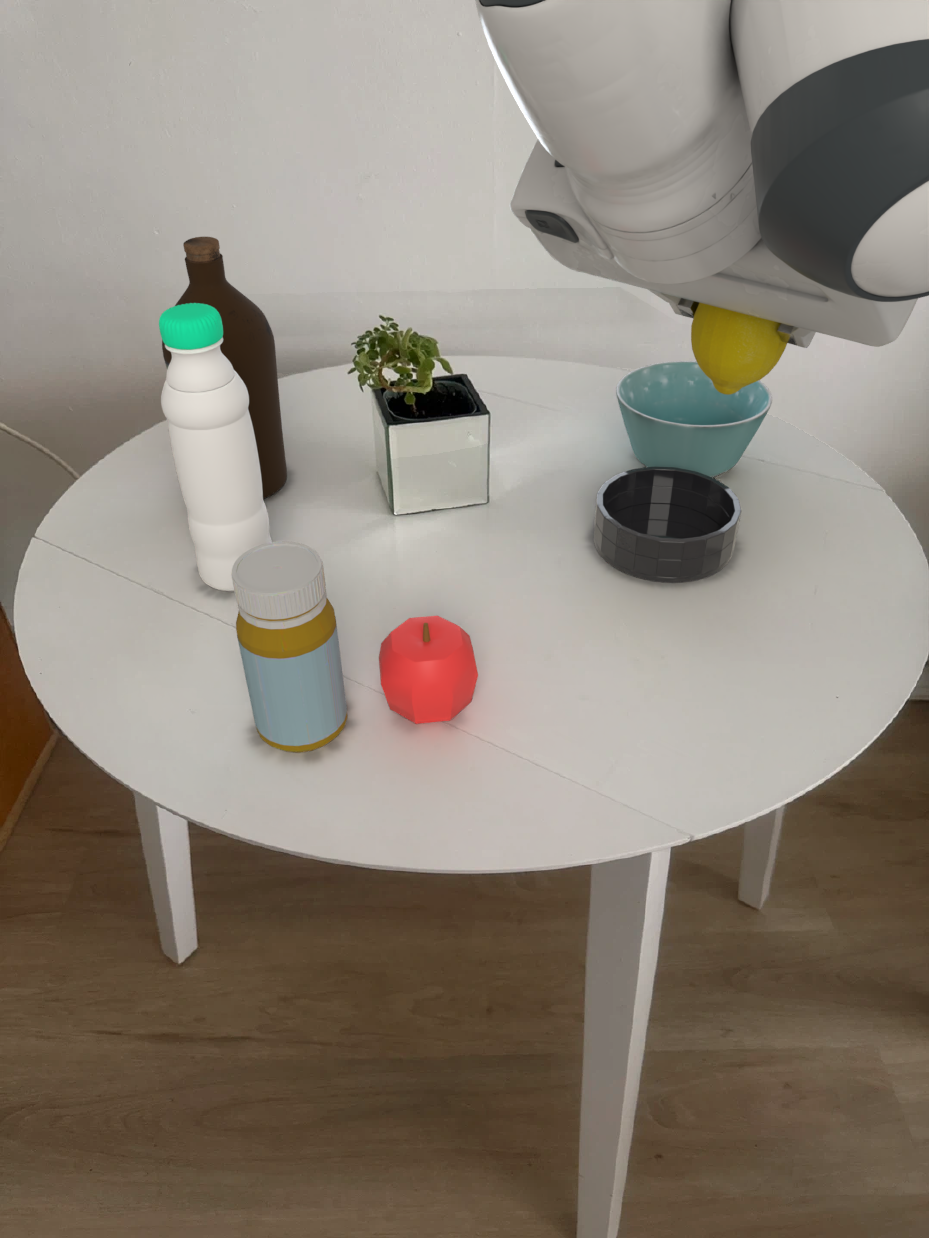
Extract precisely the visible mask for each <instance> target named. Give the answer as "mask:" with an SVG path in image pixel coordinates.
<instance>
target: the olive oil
mask: <svg viewBox="0 0 929 1238" xmlns="http://www.w3.org/2000/svg"><path fill="white" fill-rule="evenodd" d="M220 249H221V245H220V241H219V240H218V239H217V237H212V236H195V237H191V238H189V239H187V240H185V241H184V242H183V250H184V252H185V257H184V263H185V267H186V272H187V276H188V281H189V283H188V286H187V288H186V289H185V291H184V292H183V293H182V295H181V296H180V298H179V299H178V300H177V301H176V304H175V305H174V306H177V305H181V304H186V303H187V304H189V303H200V304H207V305H210V306H212V307H214V308H215V309H216V310H217V311H218V312H219V314H220V316H221V320H222V325H223V342H222V344H221V345H220V350H221V352H222V354H223V355H224V356H225V357H226V358H227V359H228V360H229V361H230V363H231V364H232V366H233V369H234V370H235V371H236V372H237V374H238V375H239V376H240V378H241V379H242V381H243V382H244V384H245V386H246V388H247V391H248V395H249V406H248V410H249V414H250V417H251V421H252V425H253V430H254V435H255V440H256V445H257V451H258V457H259V464H260V471H261V479H262V490H263V500H265V499H266V498H269V497H270V496H273V495H274V494H276V493H277V492H278V491H280V490H281V489H282V488H283V487H284V485H285V484H286V482H287V478H288V471H287V462H286V452H285V451H286V450H285V443H284V442H285V441H284V433H283V423H282V411H281V402H280V400H281V399H280V389H279V379H278V366H277V352H276V341H275V336H274V333H273V330H272V327H271V324H270V323H269V320H268V318H267V317H266V315H265V313H264V312H263V310H261V308H260V307H259V306H258V305H257V304H256V303H255V302H254V301H252V300H251V299H250V298H248V297H247V296H246V295H244V293H242V292H240V290H238V289H237V288H236V287H235V286H234V285H232V283H230V282H229V281H228V280H227V278H226V272H225V264H224V256H223V254H222V253H221V252H220ZM161 347H162V348H161V350H162V356H163V360H164V364H165V369H166V370H167V369H168V366H169V364H170V362H171V359H172V354H171V352H170V351H169V350H167V349H166V348H165V344H164V342H163V340H162V339H161Z"/></svg>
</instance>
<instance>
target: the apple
mask: <svg viewBox="0 0 929 1238" xmlns="http://www.w3.org/2000/svg"><path fill="white" fill-rule="evenodd" d="M378 665H379V677H380V678H379V679H380V685H381V689H382V691H383V694H384V696H385V700H386V702H387V705H388V708H389V710H390V711H392V712H393V713H396V714H398V715H400V716H401V717H403V718H405V719H407V720H408V721H410V722H412V723H413V724H416V725H418V724H429V723H430V724H431V723H441V722H449V721H452V720H453V719H454V718H455V717H457V715H458V714H460V713H461V712H462V711H463V710H464V709H465V708H466V707H467V706H468V705H470V704H471V703H472V701H473V697H474V694H475V689H476V686H477V682H478V679H479V672H478V668H477V662H476V657H475V652H474V648H473V643H472V639H471V636H470V634H468V632H466V631H465V630H464V629H463V628H462V627H461V626H460V625H458V624H456V623H454V622H452V621H449V620H448V619H446V618H444V617H442V616H439V615H427V616H426V615H425V616H415V617H408V618H407V619H406V620H404V622H402V623H401V624H400V625H398V626H397V627H396V628H394V629H393V630H392V631H390V633H389V634H388V635H387V636H386V637H385V638H384V639H383V641H382V642H381V643H380V648H379V654H378Z"/></svg>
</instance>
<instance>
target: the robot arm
mask: <svg viewBox="0 0 929 1238" xmlns="http://www.w3.org/2000/svg"><path fill="white" fill-rule="evenodd" d="M474 3H475V8H476V10H477V16H478V19H479V23H480V25H481V29H482V31H483V35H484V37H485V40H486V42H487V44H488V47H489V49H490V52H491V54H492V56H493V58H494V61H495V63H496V64H497V68H498V69H499V71H500V73H501V75H502V77H503V80H504V81H505V83H506V85H507V87H508V89H509V91H510V93H511V95H512V96H513V98H514V100H515V102H516V105H518V107H519V109H520V111H521V113H522V114H523V116H524V119H526V121H527V123H528V125H529V126H530V128H531V130H532V131H533V133H534V134H535V136H536V138H537V139H536V141H535V143H534V145H533V147H532V149H531V151H530V153H529V156H528V158H527V159H526V162H525V164H524V166H523V169H522V171H521V173H520V176H519V178H518V181H517V183H516V186H515V188H514V191H513V194H512V196H511V199H510V202H509V208H510V209H509V210H510V211H511V213H512V214H513V215H514V216H515V218H516V219H517V220H518V221H519V222H520V223H521V224H522V226H524V227H526V228H529V230H530V232H531V233H532V235H533V236H534V238H535V239H536V240H537V241H538V243H539V244H540V245H541V246H542V248H543V249H544V250H545V252H546V253H547V254H548V255H549V256H550V257H551V258H552V260H554V261H556V262H557V263H558V264H560V265H561V266H563V267H566V268H567V269H569V270H571V271H573V272H576V273H581V274H584V275H585V274H586V275H590V276H593V277H598V278H602V279H605V280H609V281H613V282H617V283H620V284H625V285H629V286H632V287H637V288H641V289H644V290H647V291H649V292H650V293H652V294H654V296H657V297H658V298H660V299H661V300H663V301H664V302H666V303H668V304H669V306H670V307H671V309H672V311H673V313H674V314H675V315H678V316H682V317H685V318H689V319H693V318H694V314H695V312H696V310H697V307H698V305H699V303H704V304H708V305H712V306H715V307H719V308H723V309H727V310H731V311H735V312H739V313H743V314H747V315H751V316H755V317H759V318H763V319H767V320H771V321H775V322H779V323H781V324H780V326H779V328H778V330H777V331H778V334H779V336H780V337H782V338H781V341H782V342H786V343H787V344H789V345H793V346H796V347H800V348H803V349H807V348H808V347H810V345H811V343H812V341H813V339H814V336H815V335H816V333H819V334H822V335H826V336H831V337H834V338H838V339H842V340H846V341H850V342H854V343H858V344H862V345H865V346H869V347H877V348H879V347H884V346H886V345H889V344H891V343H893V342H895V341H896V340H897V339H899V336H900V335H901V334H902V332H903V330H904V328H905V327H906V325H907V322H908V320H909V319H910V317H911V315H912V312H913V310H914V308H915V306H916V304H917V302H918V300H919V299H921V298H925V297H929V0H474Z"/></svg>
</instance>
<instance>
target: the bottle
mask: <svg viewBox="0 0 929 1238" xmlns="http://www.w3.org/2000/svg"><path fill="white" fill-rule="evenodd" d="M324 568H325V567H324V563H323V560H322V558H321V555H320V554H319V552H318V551H316V550H315V548H313V547H311V546H309V545H307V544H305V543H301V542H298V541H297V542H296V541H287V540H285V541H282V540H281V541H272V542H271V543H266V544H262V545H259V546H256V547H254V548H252V549H250V550H248V551H246V552H245V553H243V554H242V555H241V556H240V557H239V558H238V559H237V560H236V561H235V563H234V565H233V567H232V573H231V575H232V582H233V587H234V591H233V592H234V595H235V601H236V604H237V609H238V611H237V612H238V613H237V616H236V620H235V631H236V637H237V643H238V647H239V653H240V656H241V662H242V663H241V664H242V667H243V672H244V677H245V682H246V686H247V691H248V696H249V697H248V698H249V701H250V706H251V711H252V715H253V721H254V725H255V728H256V732H257V734H258V735H259V737H260V739H261V740H262V741H263V742H264V743H266V744H267V745H268V746H269V747H272V748H274V749H277V750H280V751H282V752H283V751H284V752H286V753H296V754H297V753H298V754H299V753H307V752H312V751H315V750H318V749H321V748H323V747H325V746H326V745H328V744H329V743H330V742H332V741H333V740H335V739H336V738H337V737H338V736H339V735H340V733H342V731H343V729H344V728H345V726H346V724H347V720H348V707H347V706H348V705H347V698H346V689H345V684H344V682H345V681H344V675H343V666H342V658H341V657H342V656H341V650H340V649H341V648H340V642H339V633H338V626H337V618H336V617H337V616H336V613H335V609H334V607H333V605H332V603H331V602H330V600H329V598H328V594H327V589H326V585H327V584H326V577H325V569H324Z"/></svg>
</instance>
